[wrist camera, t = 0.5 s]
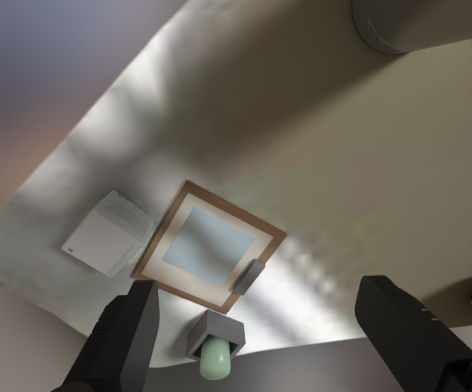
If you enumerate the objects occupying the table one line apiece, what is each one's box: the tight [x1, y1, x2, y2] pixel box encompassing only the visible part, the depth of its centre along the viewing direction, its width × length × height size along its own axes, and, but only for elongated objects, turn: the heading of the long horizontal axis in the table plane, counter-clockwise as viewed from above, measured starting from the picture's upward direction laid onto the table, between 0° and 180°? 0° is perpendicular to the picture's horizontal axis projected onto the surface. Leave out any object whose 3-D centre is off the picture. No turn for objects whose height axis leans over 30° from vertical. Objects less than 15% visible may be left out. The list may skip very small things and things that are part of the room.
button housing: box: [186, 309, 246, 362], centre depth 33 cm, size 6×6×3 cm
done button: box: [200, 334, 230, 380], centre depth 31 cm, size 4×4×4 cm
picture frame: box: [132, 180, 287, 315], centre depth 29 cm, size 14×13×1 cm
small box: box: [61, 190, 155, 278], centre depth 25 cm, size 6×6×5 cm
